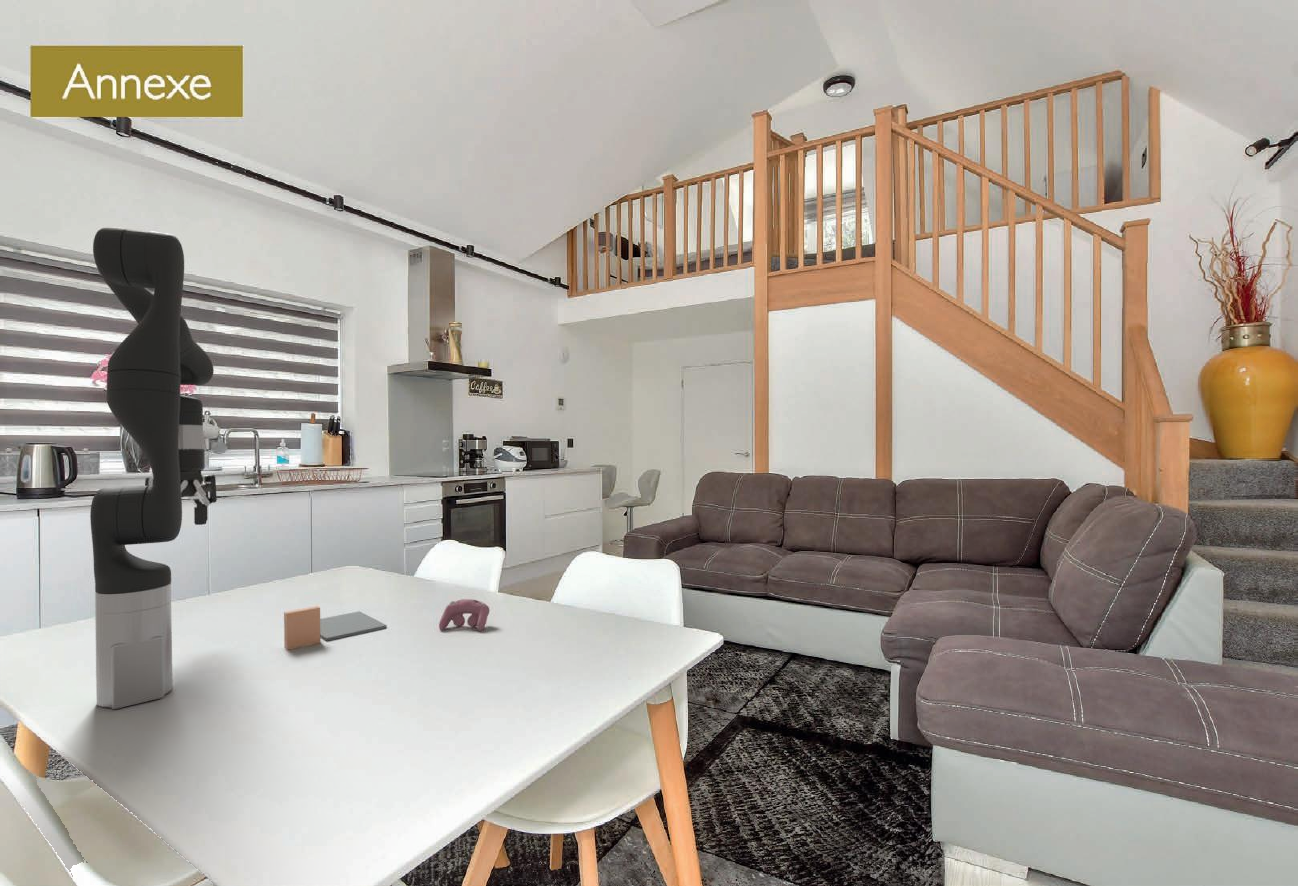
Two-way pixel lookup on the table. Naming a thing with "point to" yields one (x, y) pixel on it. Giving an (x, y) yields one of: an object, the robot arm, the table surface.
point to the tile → (301, 627)
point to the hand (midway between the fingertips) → (182, 526)
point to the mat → (348, 625)
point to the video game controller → (462, 607)
